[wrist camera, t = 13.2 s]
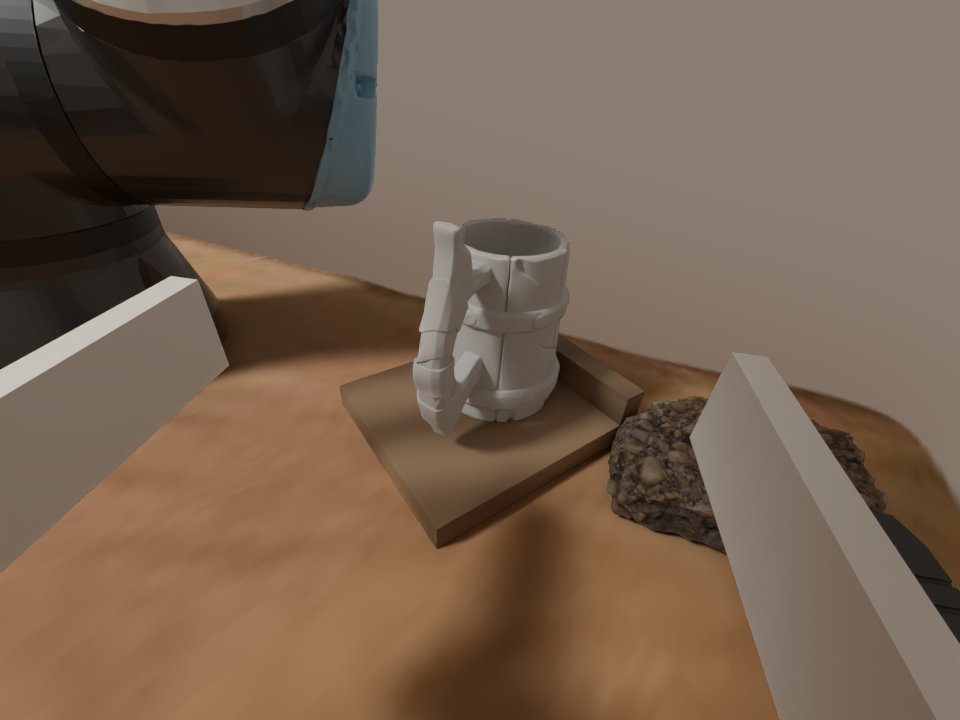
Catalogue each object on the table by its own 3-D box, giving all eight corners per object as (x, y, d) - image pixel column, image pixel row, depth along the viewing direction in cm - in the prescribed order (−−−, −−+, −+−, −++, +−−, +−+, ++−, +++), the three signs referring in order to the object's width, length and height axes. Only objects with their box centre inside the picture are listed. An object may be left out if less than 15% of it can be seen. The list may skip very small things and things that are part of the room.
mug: (570, 374, 29) (610, 190, 22) (491, 499, 20) (517, 262, 13) (473, 341, 32) (482, 169, 25) (367, 438, 23) (336, 216, 16)
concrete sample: (820, 471, 25) (869, 407, 22) (850, 636, 18) (931, 572, 15) (626, 405, 29) (647, 343, 26) (585, 516, 22) (607, 447, 19)
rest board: (342, 403, 28) (335, 360, 26) (510, 344, 35) (515, 306, 32) (436, 548, 20) (436, 501, 18) (629, 433, 27) (644, 390, 25)
